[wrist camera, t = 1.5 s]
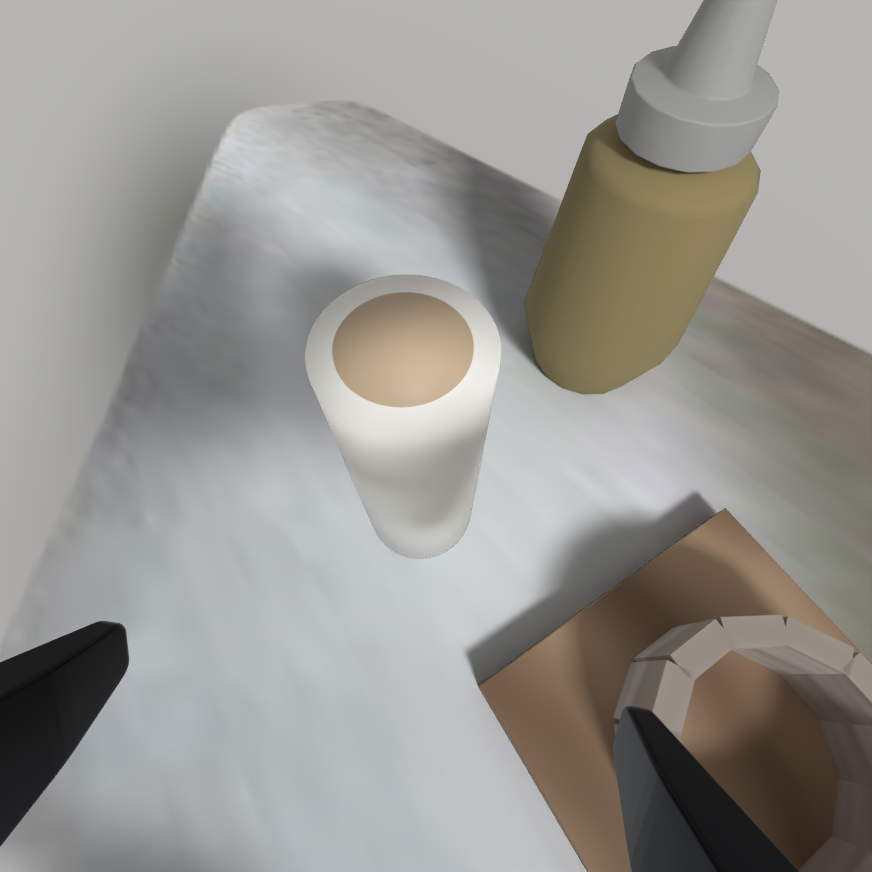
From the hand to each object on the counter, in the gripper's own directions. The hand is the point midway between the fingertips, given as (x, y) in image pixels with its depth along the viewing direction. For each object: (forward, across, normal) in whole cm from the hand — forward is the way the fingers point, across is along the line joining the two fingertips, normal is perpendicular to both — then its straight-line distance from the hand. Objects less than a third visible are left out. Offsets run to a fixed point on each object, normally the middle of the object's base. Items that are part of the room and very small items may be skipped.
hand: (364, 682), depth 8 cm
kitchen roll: (+15, +1, +4) cm, 15 cm away
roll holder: (+9, -13, +10) cm, 18 cm away
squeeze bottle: (+22, -7, -4) cm, 24 cm away
